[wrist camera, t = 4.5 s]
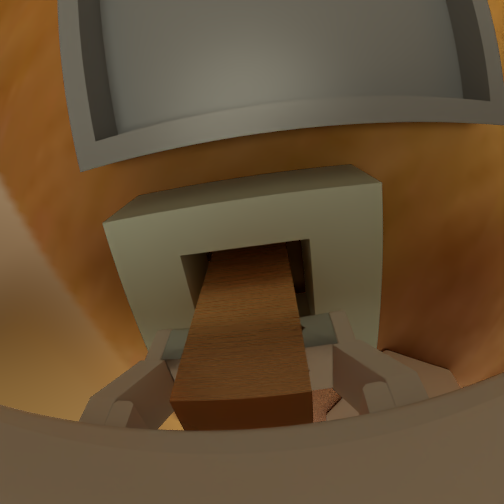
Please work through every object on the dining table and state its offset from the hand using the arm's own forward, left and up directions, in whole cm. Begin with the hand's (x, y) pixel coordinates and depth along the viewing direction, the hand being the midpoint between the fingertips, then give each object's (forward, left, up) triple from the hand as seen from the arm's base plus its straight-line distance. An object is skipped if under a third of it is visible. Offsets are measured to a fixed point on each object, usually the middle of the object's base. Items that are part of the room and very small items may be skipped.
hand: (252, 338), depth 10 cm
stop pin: (0, 0, -6) cm, 6 cm away
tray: (-3, -13, -6) cm, 15 cm away
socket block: (0, 0, -6) cm, 6 cm away
